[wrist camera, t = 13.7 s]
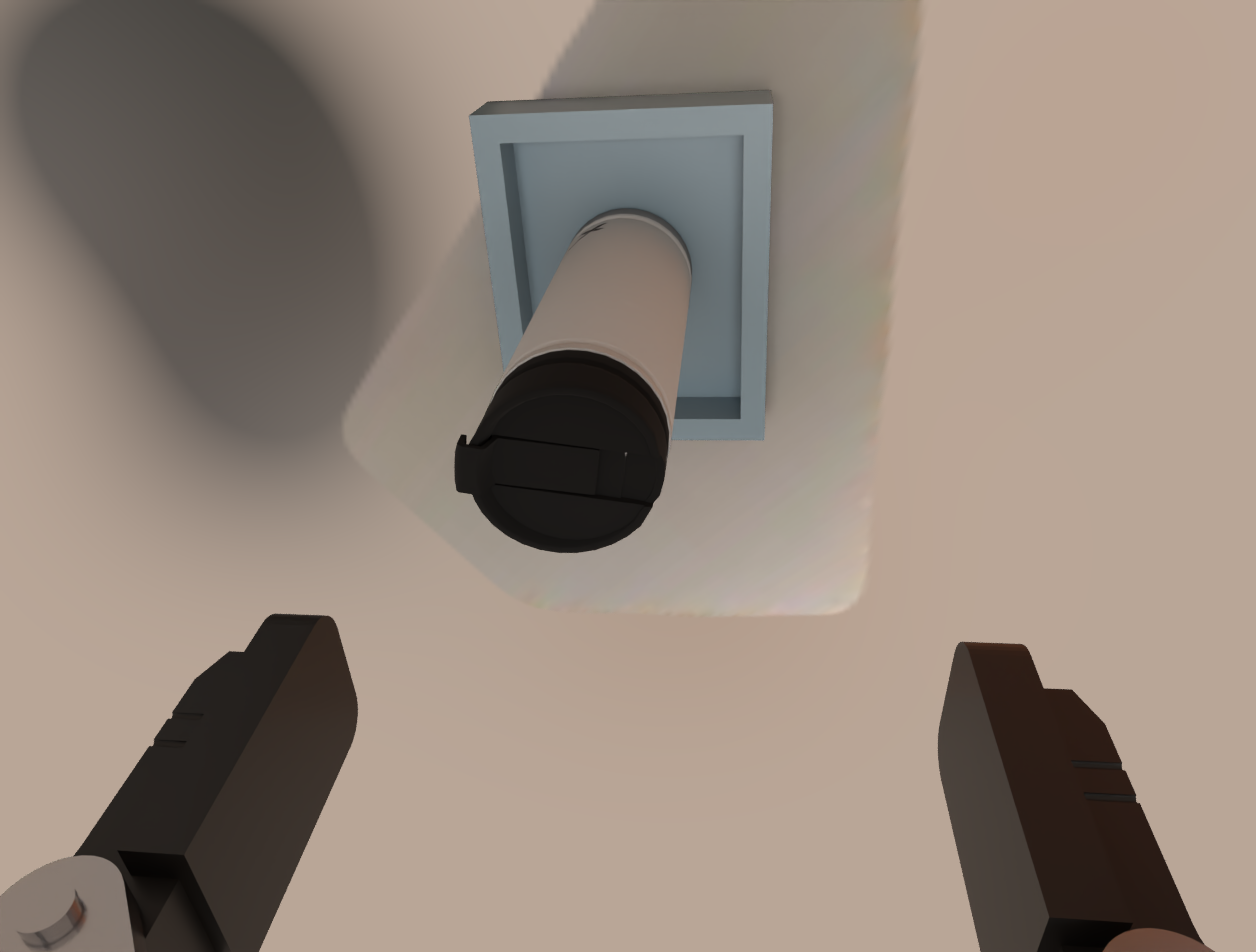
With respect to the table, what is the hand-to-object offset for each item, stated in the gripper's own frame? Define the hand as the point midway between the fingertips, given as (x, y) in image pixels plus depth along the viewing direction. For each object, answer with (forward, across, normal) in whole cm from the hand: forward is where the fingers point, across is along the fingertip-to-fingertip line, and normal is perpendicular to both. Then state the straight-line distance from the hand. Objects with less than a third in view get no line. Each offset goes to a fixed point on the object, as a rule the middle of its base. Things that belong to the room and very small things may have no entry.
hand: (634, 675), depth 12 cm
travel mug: (+35, +4, +7) cm, 36 cm away
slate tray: (+36, +4, +7) cm, 36 cm away
